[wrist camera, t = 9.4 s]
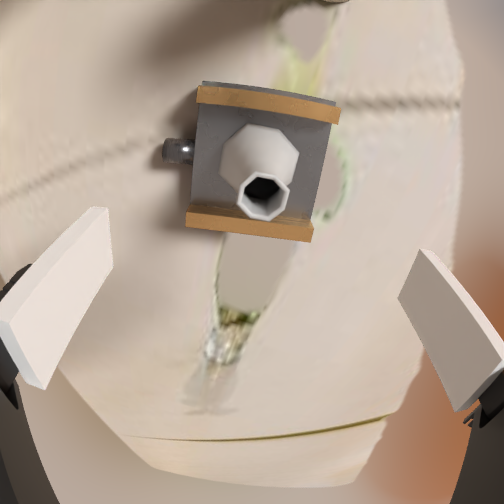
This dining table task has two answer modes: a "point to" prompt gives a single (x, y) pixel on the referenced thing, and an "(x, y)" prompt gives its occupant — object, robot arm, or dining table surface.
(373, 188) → the dining table surface
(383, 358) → the dining table surface
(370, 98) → the dining table surface
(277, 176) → the flask
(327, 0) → the travel mug
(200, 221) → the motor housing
